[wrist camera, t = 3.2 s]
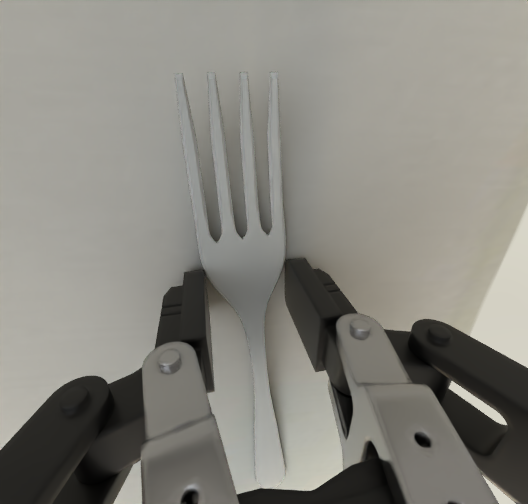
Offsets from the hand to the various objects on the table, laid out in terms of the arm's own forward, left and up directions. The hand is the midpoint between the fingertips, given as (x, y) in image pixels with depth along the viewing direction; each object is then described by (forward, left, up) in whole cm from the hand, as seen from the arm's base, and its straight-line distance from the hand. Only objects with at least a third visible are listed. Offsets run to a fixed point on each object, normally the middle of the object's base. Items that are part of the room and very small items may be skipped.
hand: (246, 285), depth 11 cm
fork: (+5, 0, 0) cm, 5 cm away
